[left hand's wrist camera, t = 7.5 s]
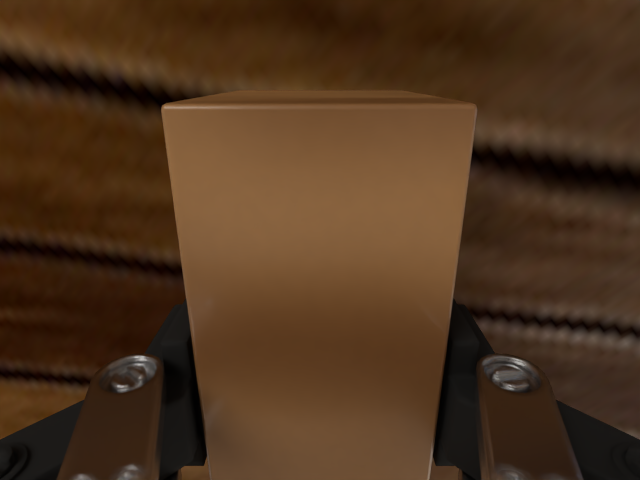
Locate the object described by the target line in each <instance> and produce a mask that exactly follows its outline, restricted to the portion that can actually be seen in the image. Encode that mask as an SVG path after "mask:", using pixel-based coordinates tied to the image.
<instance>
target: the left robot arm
mask: <svg viewBox="0 0 640 480" xmlns="http://www.w3.org/2000/svg"><path fill="white" fill-rule="evenodd" d="M206 457H207V451H206V443H205V436H204V428H203V421H202V413H201V406H200V398H199V391H198V383H197V376H196V368H195V361H194V353H193V346H192V338H191V331H190V323H189V315H188V308H187V300H186V299H185V301H184V303H183V305H175V306H174V307H173V309H172V310H171V312H170V313H169V315H168V317H167V318H166V320H165V322H164V323H163V325H162V326H161V328H160V330H159V331H158V333H157V334H156V336H155V338H154V339H153V341H152V342H151V344H150V346H149V347H148V349H147V350H146V352H145V354H144V353H141V354H131V355H127V356H122V357H120V358H117V359H115V360H112V361H111V362H109V363H107V364H106V365H104V366H102V367H101V368H100V369H99V370H98V371H97V372H96V373H95V375H94V376H93V378H92V380H91V383H90V385H89V388H88V391H87V394H86V397H85V400H83V401H80V402H78V403H76V404H74V405H72V406H70V407H68V408H66V409H64V410H62V411H59V412H57V413H55V414H53V415H51V416H49V417H47V418H45V419H43V420H41V421H38V422H36V423H34V424H32V425H30V426H28V427H26V428H24V429H22V430H20V431H17V432H15V433H13V434H11V435H9V436H7V437H5V438H3V439H1V440H0V480H182V474H181V468H182V467H183V466H204V464H205V460H206ZM433 458H434V461H435V465H436V466H456V467H458V468H459V474H458V480H640V440H639V439H637V438H635V437H633V436H631V435H629V434H626V433H624V432H622V431H620V430H618V429H616V428H614V427H612V426H610V425H608V424H605V423H603V422H601V421H599V420H597V419H595V418H593V417H591V416H589V415H587V414H584V413H582V412H580V411H578V410H576V409H574V408H572V407H570V406H568V405H566V404H563V403H561V402H559V401H557V400H555V397H554V394H553V391H552V388H551V385H550V383H549V380H548V378H547V376H546V375H545V373H544V372H543V371H542V370H541V369H540V368H539V367H538V366H536V365H534V364H533V363H531V362H529V361H528V360H525V359H523V358H520V357H518V356H513V355H509V354H499V353H496V354H495V353H494V351H493V349H492V348H491V346H490V345H489V343H488V341H487V340H486V338H485V337H484V335H483V333H482V332H481V330H480V328H479V327H478V325H477V324H476V322H475V320H474V319H473V317H472V316H471V314H470V312H469V311H468V309H467V308H466V307H465V305H457V303H456V302H455V300H454V298H453V303H452V311H451V319H450V326H449V334H448V342H447V350H446V357H445V365H444V373H443V381H442V388H441V396H440V404H439V412H438V419H437V427H436V435H435V442H434V450H433Z"/></svg>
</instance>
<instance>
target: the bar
mask: <svg viewBox="0 0 640 480" xmlns="http://www.w3.org/2000/svg"><path fill="white" fill-rule="evenodd" d="M161 112H162V120H163V127H164V135H165V142H166V150H167V157H168V165H169V173H170V180H171V188H172V195H173V203H174V210H175V218H176V225H177V233H178V240H179V248H180V255H181V263H182V270H183V278H184V285H185V293H186V300H187V308H188V315H189V323H190V331H191V338H192V346H193V353H194V361H195V368H196V376H197V383H198V391H199V398H200V406H201V413H202V421H203V428H204V436H205V443H206V451H207V458H208V466H209V473H210V480H430V473H431V466H432V458H433V450H434V442H435V435H436V427H437V419H438V412H439V404H440V396H441V388H442V381H443V373H444V365H445V357H446V350H447V342H448V334H449V326H450V319H451V311H452V303H453V295H454V288H455V280H456V272H457V264H458V257H459V249H460V241H461V233H462V226H463V218H464V210H465V202H466V195H467V187H468V179H469V171H470V164H471V156H472V148H473V140H474V133H475V125H476V117H477V106H476V105H475V104H473V103H470V102H464V101H459V100H453V99H447V98H442V97H436V96H431V95H425V94H420V93H414V92H408V91H403V90H238V91H232V92H227V93H221V94H216V95H210V96H204V97H199V98H193V99H188V100H182V101H177V102H171V103H166V104H164V105H162V109H161Z"/></svg>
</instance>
